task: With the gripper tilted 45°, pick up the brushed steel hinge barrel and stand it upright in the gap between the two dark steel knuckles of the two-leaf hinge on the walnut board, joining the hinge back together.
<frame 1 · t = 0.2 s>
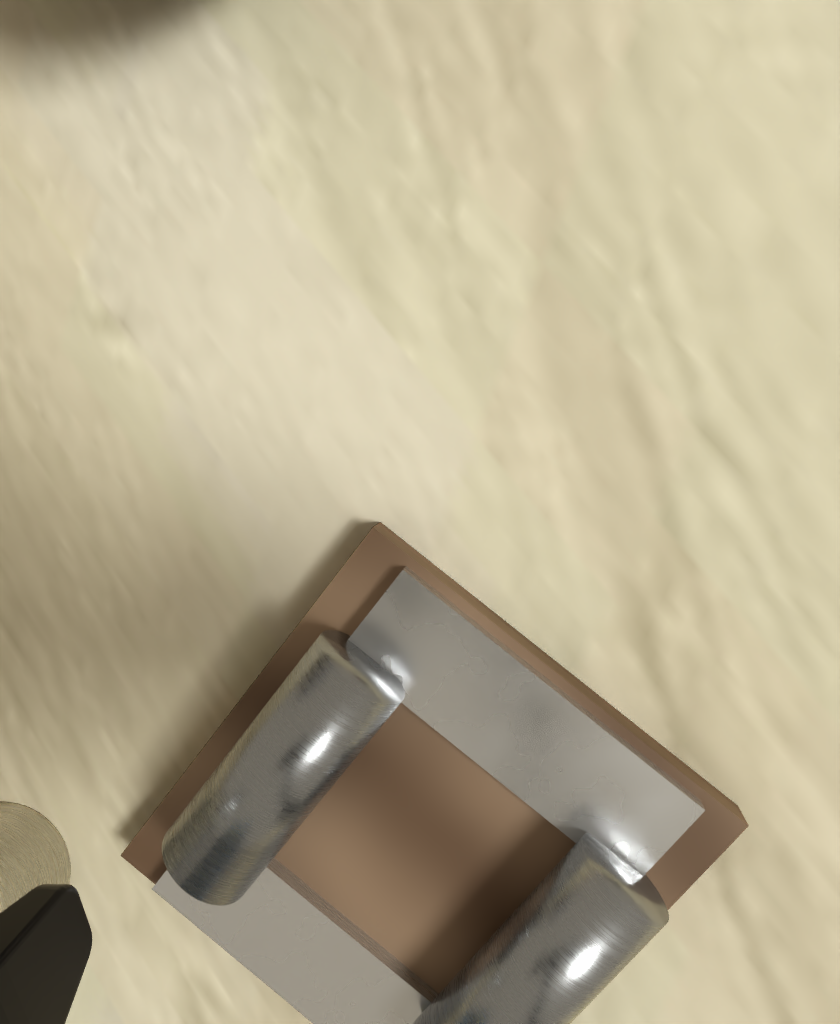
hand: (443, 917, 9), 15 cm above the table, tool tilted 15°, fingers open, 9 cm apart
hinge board: (420, 822, 25), on the table
hinge leaves: (407, 868, 22), on the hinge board, point 3 cm above the table
hinge barrel: (13, 861, 27), on the table
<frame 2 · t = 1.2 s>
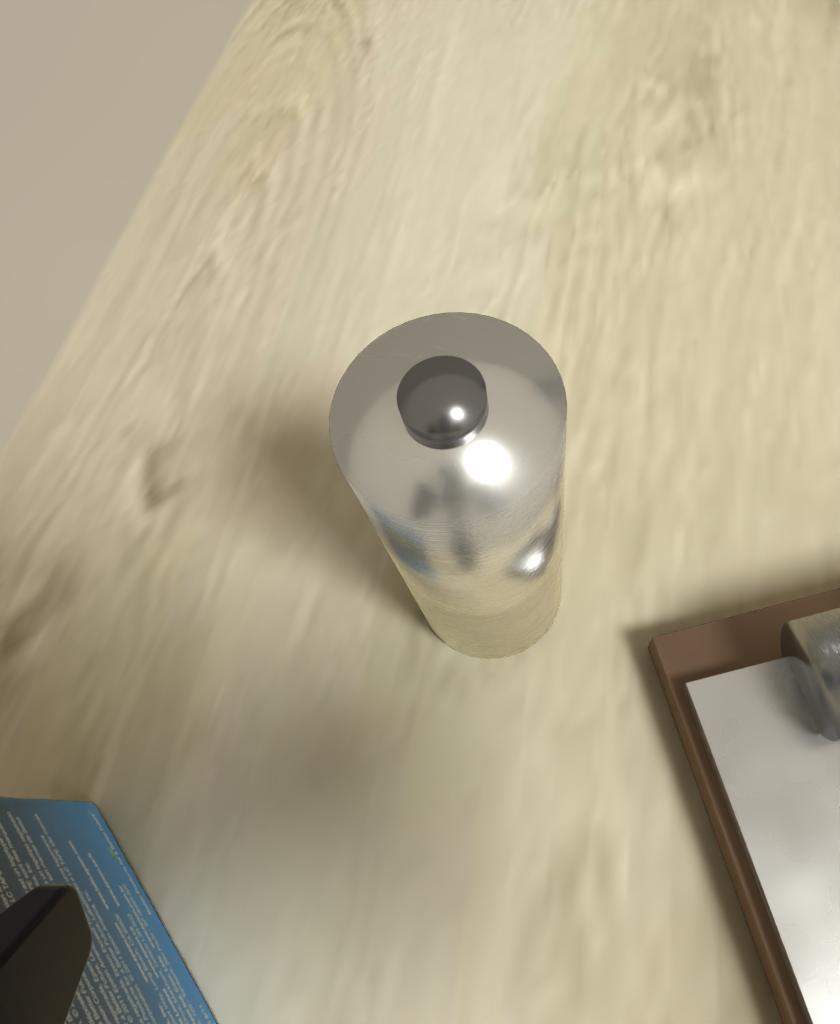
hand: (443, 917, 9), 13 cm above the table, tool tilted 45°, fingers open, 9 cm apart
label tape cartridge: (118, 973, 22), on the table
hinge barrel: (490, 588, 24), on the table
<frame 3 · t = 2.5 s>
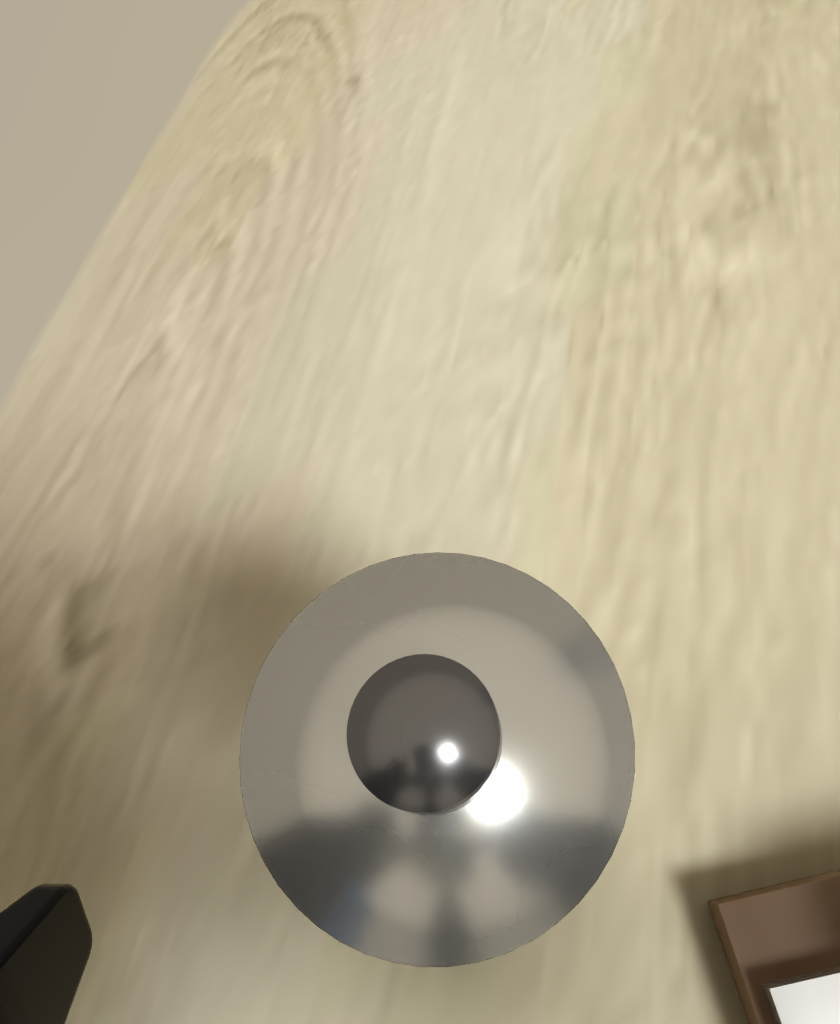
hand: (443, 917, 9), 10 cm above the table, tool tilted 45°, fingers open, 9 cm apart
hinge barrel: (496, 802, 18), on the table
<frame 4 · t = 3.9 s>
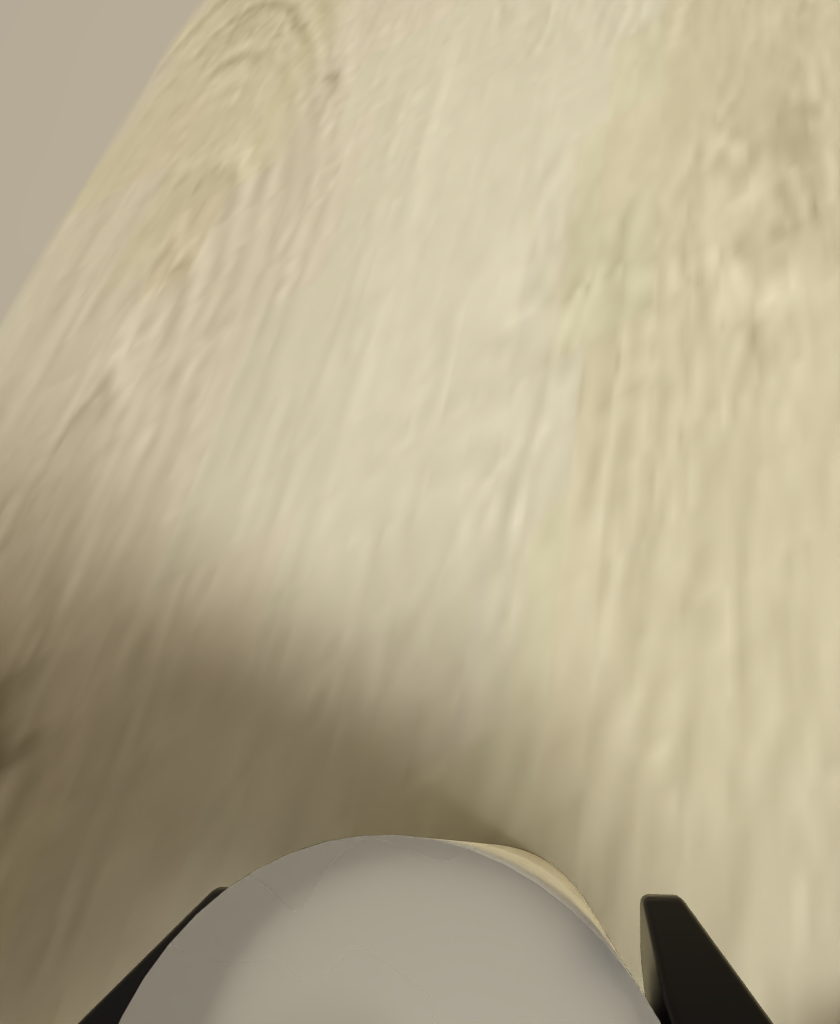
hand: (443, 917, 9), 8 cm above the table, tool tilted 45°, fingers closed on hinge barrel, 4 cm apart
hinge barrel: (494, 966, 15), on the table, touching gripper
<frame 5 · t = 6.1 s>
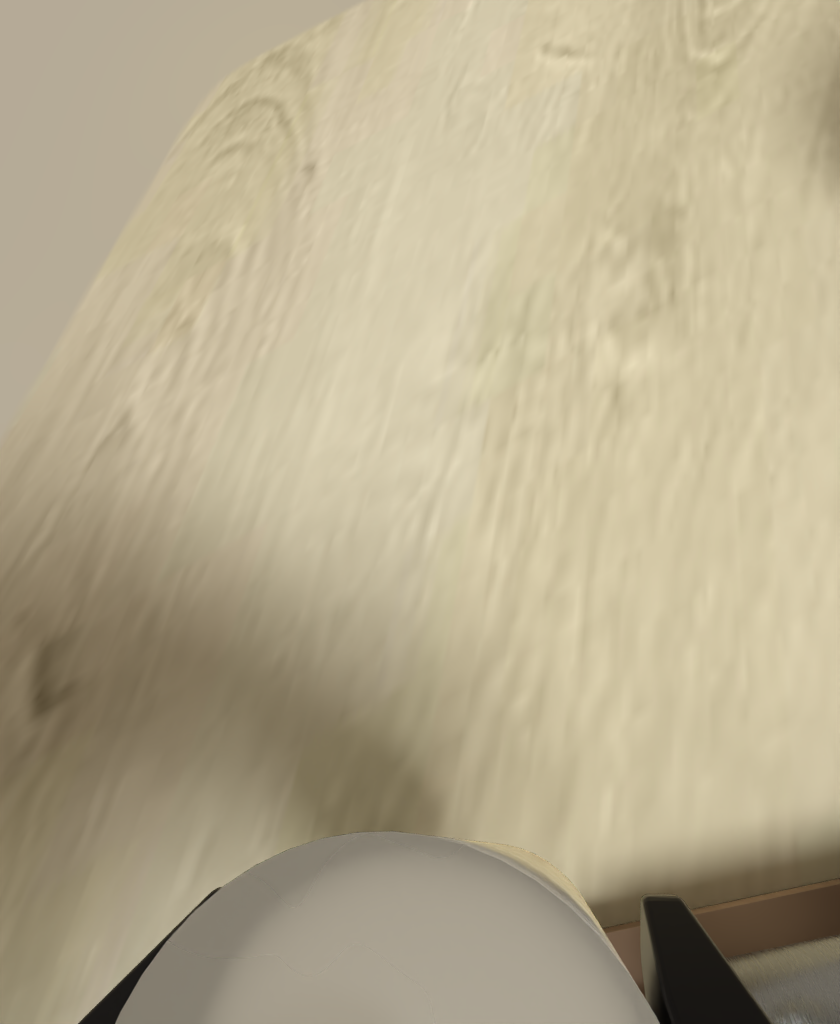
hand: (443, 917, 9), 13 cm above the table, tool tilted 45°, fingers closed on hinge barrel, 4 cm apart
hinge barrel: (492, 965, 15), point 6 cm above the table, touching gripper
when the fingers open (10 cm above the table, at t = 8.2 s): hinge barrel drops 1 cm, resting on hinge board.
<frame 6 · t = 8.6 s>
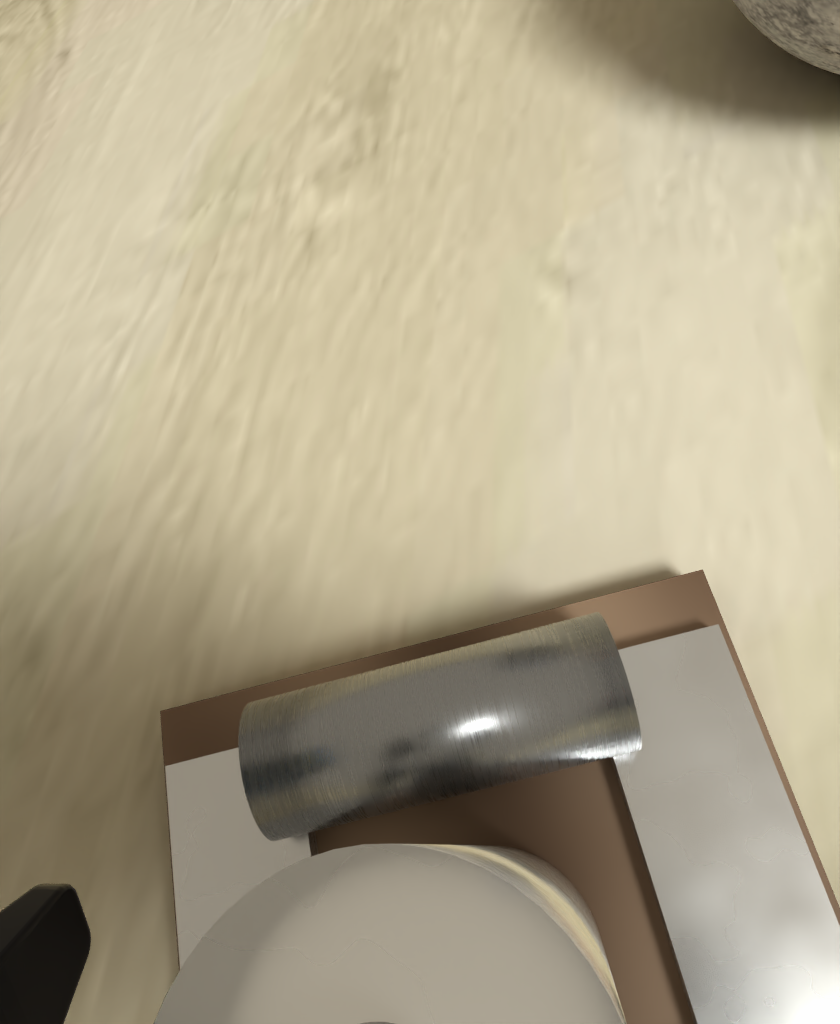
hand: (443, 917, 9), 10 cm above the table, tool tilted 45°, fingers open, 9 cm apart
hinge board: (502, 951, 17), on the table
hinge leaves: (493, 967, 15), on the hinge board, point 3 cm above the table
hinge barrel: (497, 959, 16), point 1 cm above the table, touching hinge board
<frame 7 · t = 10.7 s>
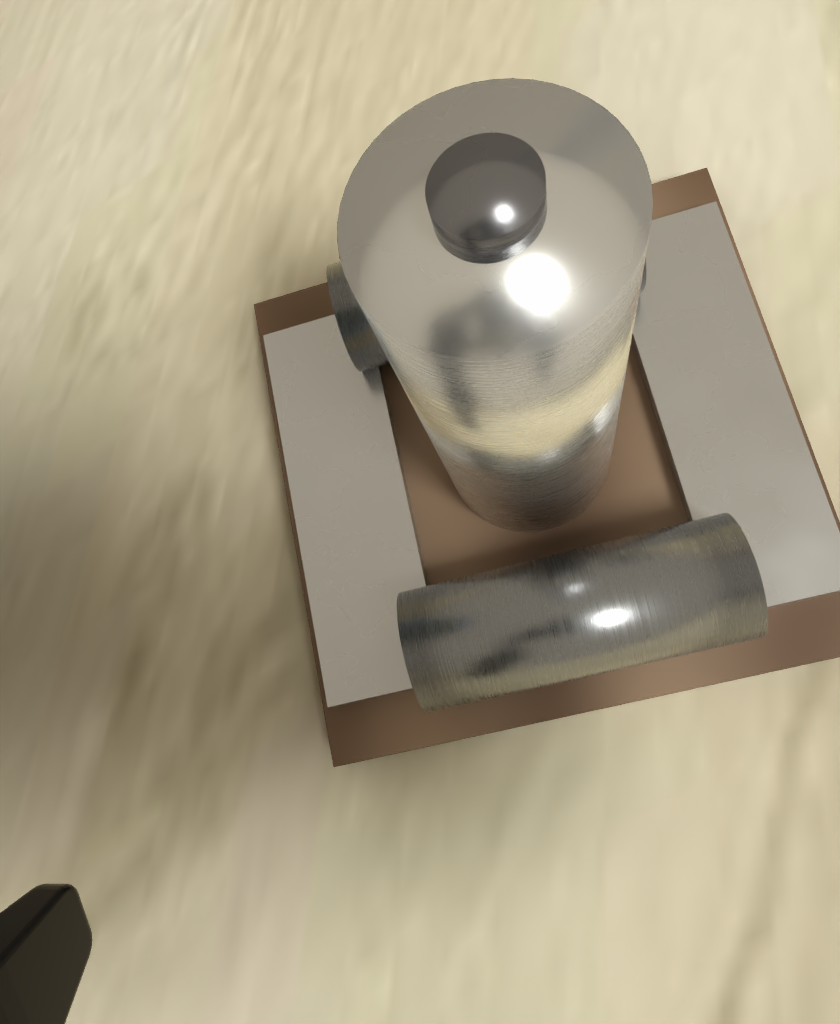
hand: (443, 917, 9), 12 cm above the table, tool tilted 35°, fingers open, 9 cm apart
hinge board: (531, 465, 22), on the table
hinge leaves: (526, 435, 20), on the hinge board, point 3 cm above the table
hinge barrel: (528, 454, 21), point 1 cm above the table, touching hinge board
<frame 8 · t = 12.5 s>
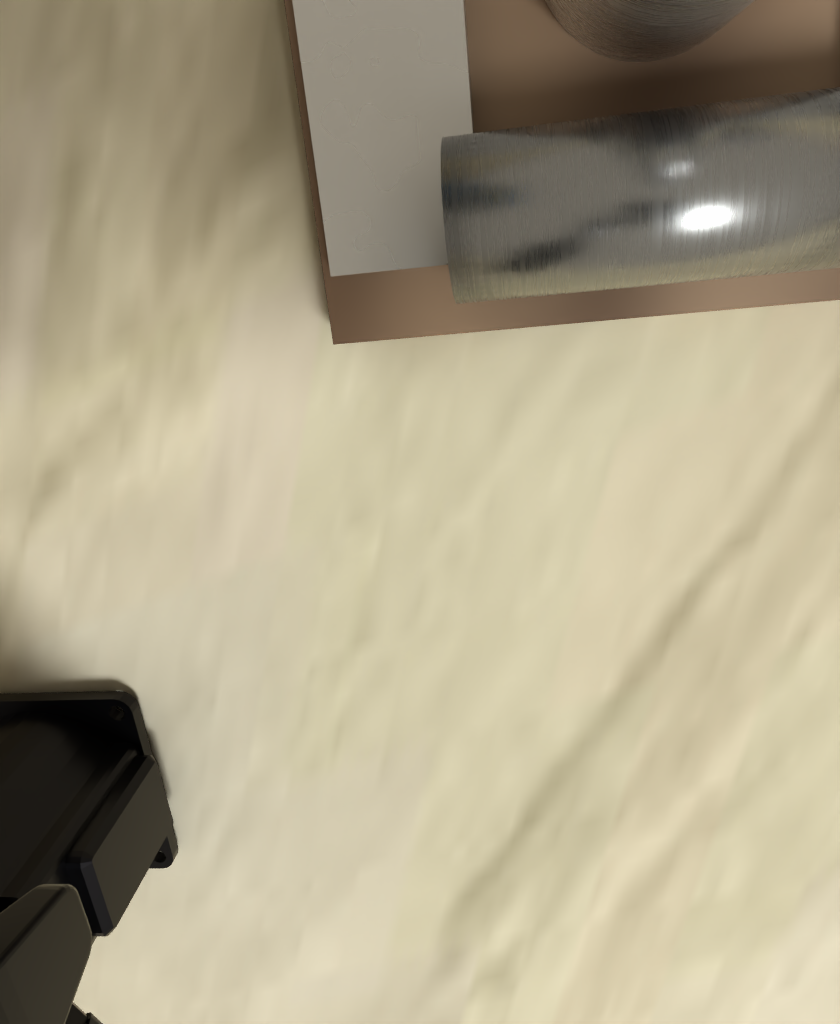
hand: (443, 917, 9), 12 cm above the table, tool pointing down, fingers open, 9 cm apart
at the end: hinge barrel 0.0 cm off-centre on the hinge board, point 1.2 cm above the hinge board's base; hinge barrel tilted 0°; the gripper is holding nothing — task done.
